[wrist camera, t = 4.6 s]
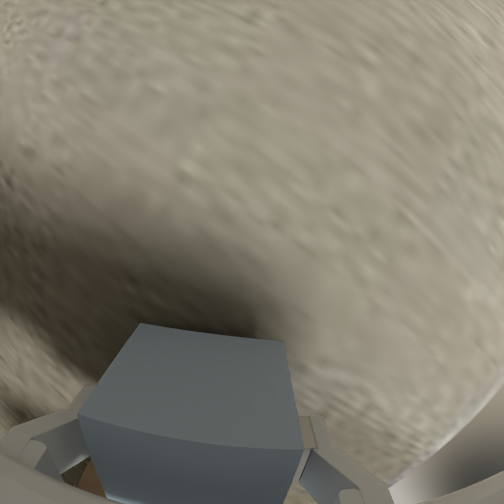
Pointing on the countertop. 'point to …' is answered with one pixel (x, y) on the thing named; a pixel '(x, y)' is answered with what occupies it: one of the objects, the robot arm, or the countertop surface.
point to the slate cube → (194, 420)
